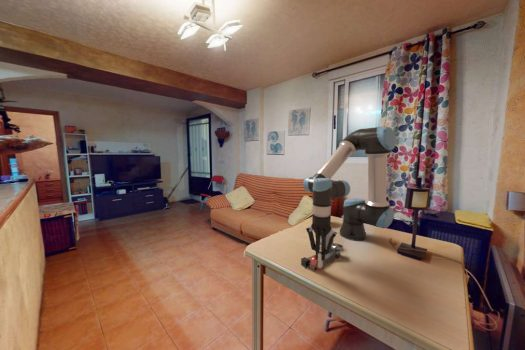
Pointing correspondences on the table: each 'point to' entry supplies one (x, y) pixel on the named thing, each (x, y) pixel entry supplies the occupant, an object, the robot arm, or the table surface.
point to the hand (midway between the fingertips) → (320, 266)
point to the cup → (326, 239)
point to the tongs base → (307, 261)
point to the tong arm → (328, 256)
